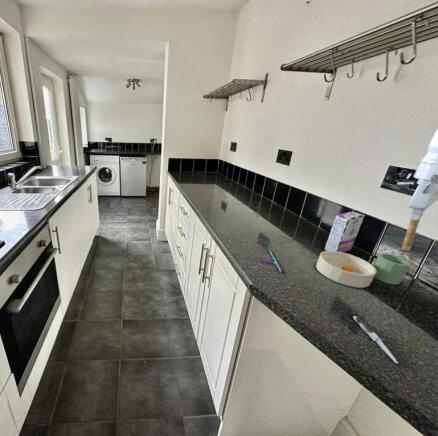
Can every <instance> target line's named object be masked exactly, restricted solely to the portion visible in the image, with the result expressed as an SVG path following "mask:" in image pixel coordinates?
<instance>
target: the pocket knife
mask: <svg viewBox="0 0 438 436" xmlns="http://www.w3.org/2000/svg"><path fill="white" fill-rule="evenodd" d="M352 318H353V320H354V321H355V322H356V323H357V325H359V326H360V328H361V329H362V330H363V331H364V332H365V333H366V334H367V335H368V336H369V337H370V338H371V339H372V341H374V342H375V343H376V344H377V345H378V346H379V347H380V348H381V350H383V351H384V352H385V354H387V356H388V357H389V358H390V359H391V360H392V361H393V362H394V363H395V364H398V365H399V361H397V359H396V357H395V356H394V355H393V354H392V353H391V352H390V350H389V348H388V347H387V346H386V345H385V343H383V341H382V339H381V338H380V336H379V335H378V334H377V333H376V332H375V331H374V330H373V329H372V328H371V327H370V326H369V325H368V324H367V323H366V322H365V321H364V320H363V319H361V318H360V316H356V315H354V316H352Z"/></svg>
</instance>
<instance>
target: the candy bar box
mask: <svg viewBox="0 0 438 436" xmlns="http://www.w3.org/2000/svg"><path fill="white" fill-rule="evenodd" d="M365 216H366V215H365V214H362V213H360V212H356V211H348V212H343V213H339V214H336V215H335V216H334V220H333V224H332V226H331V229H330V232H329V235H328V236H327V237H328V238H327V240H326V243H325V246H324V251H337V252H343V253H347V252H349V251H351V250H352V248H353V246H354V244H355V241H356V238H357V236H358V234H359V231H360V228H361V226H362V223H363V221H364V219H365Z"/></svg>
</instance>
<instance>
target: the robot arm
mask: <svg viewBox="0 0 438 436" xmlns="http://www.w3.org/2000/svg"><path fill="white" fill-rule="evenodd" d="M413 178H414V179H417V181H416V184H417V187H416V189H415V190H414V193H413V194H412V196H411V198H410V200H409V202H408V205H407V207H408V208H409V209H412V212H411V214H410V217H409V219H410V220H411V219H413V220H418V219H419V218H420V216H421V218H422V217H423V214H424V213H425V212H426V210H428V209H429V208H430V207H431V206H432V205H433V204H435V202H437V201H438V128H437V129H436V131H435V132H434V134H433V136H432V138H431V139H430V141H429V143H428V146H427V152H426V154H425V156H424V157H423V158H422V159H421V160H420V162H419V164H418V166H417V169H416V170H415V173H414V174H413ZM421 214H422V215H421ZM421 218H420V219H421Z"/></svg>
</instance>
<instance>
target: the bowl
mask: <svg viewBox="0 0 438 436" xmlns="http://www.w3.org/2000/svg"><path fill="white" fill-rule="evenodd" d="M373 265H374V264H371V263H370V262H369V261H367V260H365V259H363V258H360V257H357V256H356V255H353V254H350V253H347V252H337V251H327V250H323V251H322V252H320V253H319V256H318V258H317V261H316V264H315V268H316V269H317V271H318V272H319V273H320V274H321V275H323V276H324V277H326V278H327V279H329V280H331V281H333V282H336V283H338V284H342V285H344V286H348V287H352V288H367V287H370V286H371V284H372V283H373V281H374V279H375V275H376V273H377V271H376V269H375V268H374V267H373ZM343 266H350V267H351V268H352V269H353V273H351V272H348V271H345V270H342V269H341V268H342V267H343Z"/></svg>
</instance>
